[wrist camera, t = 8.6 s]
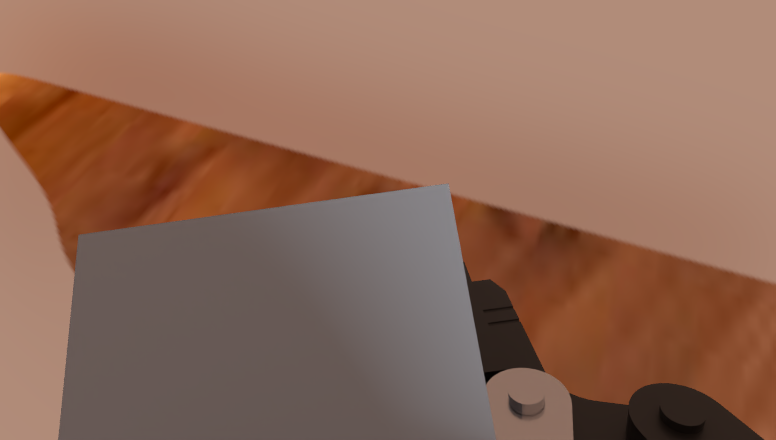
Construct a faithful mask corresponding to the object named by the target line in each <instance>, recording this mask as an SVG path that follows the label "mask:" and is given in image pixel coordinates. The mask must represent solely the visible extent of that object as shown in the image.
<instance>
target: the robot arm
mask: <svg viewBox="0 0 776 440" xmlns="http://www.w3.org/2000/svg"><path fill="white" fill-rule="evenodd" d="M463 264H464V270H465V275H466V280H467V286H468V291H469V297H470V302H471V307H472V313H473V318H474V323H475V329H476V334H477V340H478V345H479V350H480V356H481V361H482V366H483V372H484V377H485V383H486V388H487V393H488V399H489V404H490V409H491V415H492V420H493V425H494V431H495V436H496V440H764V439H763V438H761V437H760V436H759V435H758V434H756V433H755V432H754V431H753V430H751V429H750V428H749V427H748V426H746V425H745V424H744V423H743V422H741V421H740V420H739V419H738V418H736V417H735V416H734V415H733V414H731V413H730V412H729V411H728V410H726V409H725V408H724V407H723V406H722V405H720V404H719V403H718V402H716V401H715V400H713V399H712V398H710V397H709V396H707V395H705V394H703V393H701V392H699V391H697V390H694V389H692V388H689V387H686V386H681V385H677V384H669V383H658V384H651V385H647V386H644V387H642V388H640V389H639V390H637V391H636V392H635V393H634V394H633V395H632V397H631V399H630V401H629V405H623V404H615V403H607V402H599V401H593V400H587V399H584V398H580V397H578V396H575V395H573V394H570V393H569V392H568V391H567V389H566V388H565V387H564V385H563V384H562V383H561V382H560V381H558V380H557V379H556V378H554V377H553V376H551V375H549V374H547V373H545V371H544V369H543V367H542V365H541V363H540V361H539V359H538V357H537V355H536V353H535V351H534V349H533V346H532V344H531V342H530V340H529V338H528V336H527V334H526V332H525V330H524V328H523V326H522V324H521V322H519V318H518V316H517V314H516V312H515V310H514V309H513V306H512V304H511V301H510V299H509V297H508V295H507V293H506V291H505V290H503V289H502V288H501V287H499V286H498V285H497V284H495V283H494V282H493V281H491V280H490V279H489V280H482V281H475V282H472V281H471V279H470V276H469V273H468V271H467V268H466V266H465V263H464V262H463Z"/></svg>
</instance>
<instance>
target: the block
mask: <svg viewBox="0 0 776 440" xmlns="http://www.w3.org/2000/svg"><path fill="white" fill-rule="evenodd" d="M68 338H69V339H68V348H67V358H66V368H65V378H64V388H63V398H62V408H61V418H60V429H59V438H58V440H496V436H495V431H494V425H493V420H492V415H491V409H490V404H489V399H488V393H487V388H486V383H485V377H484V372H483V366H482V361H481V356H480V350H479V345H478V340H477V334H476V329H475V323H474V318H473V313H472V307H471V302H470V297H469V291H468V286H467V280H466V275H465V270H464V264H463V259H462V254H461V248H460V243H459V238H458V232H457V227H456V221H455V216H454V211H453V205H452V200H451V195H450V189H449V184H441V185H434V186H427V187H420V188H413V189H405V190H398V191H391V192H384V193H377V194H369V195H362V196H355V197H348V198H341V199H333V200H326V201H319V202H312V203H305V204H297V205H290V206H283V207H276V208H269V209H261V210H254V211H247V212H240V213H233V214H225V215H218V216H211V217H204V218H197V219H189V220H182V221H175V222H168V223H161V224H153V225H146V226H139V227H132V228H125V229H117V230H110V231H103V232H96V233H89V234H81V235H79V237H78V247H77V257H76V267H75V277H74V287H73V297H72V307H71V317H70V328H69V337H68Z"/></svg>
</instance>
